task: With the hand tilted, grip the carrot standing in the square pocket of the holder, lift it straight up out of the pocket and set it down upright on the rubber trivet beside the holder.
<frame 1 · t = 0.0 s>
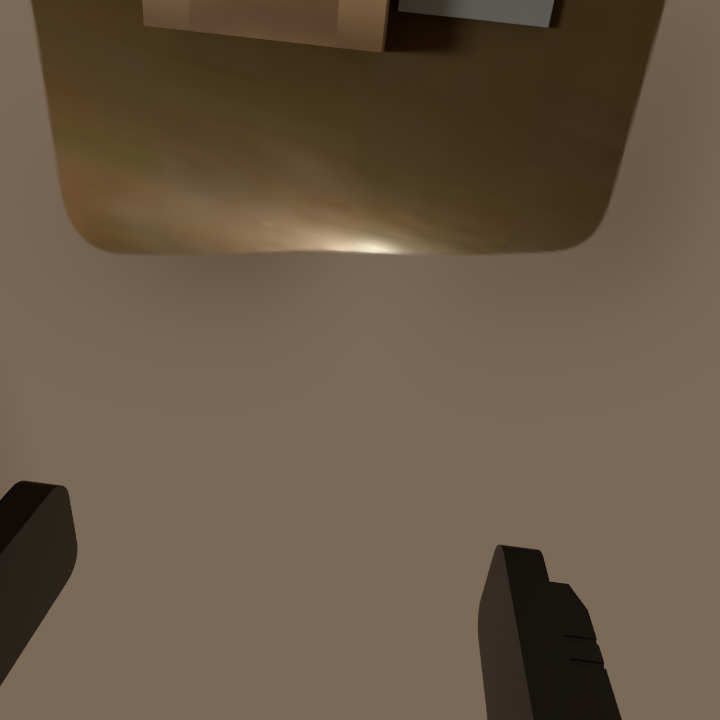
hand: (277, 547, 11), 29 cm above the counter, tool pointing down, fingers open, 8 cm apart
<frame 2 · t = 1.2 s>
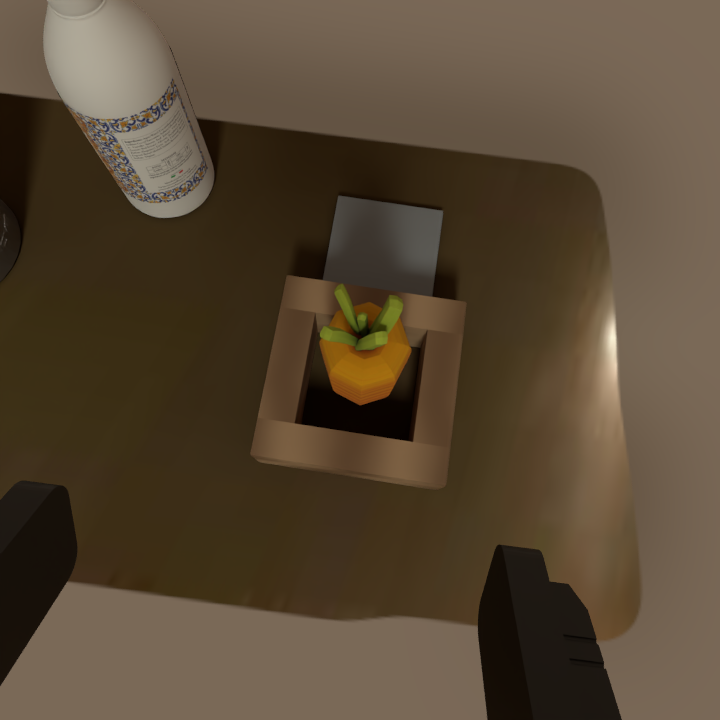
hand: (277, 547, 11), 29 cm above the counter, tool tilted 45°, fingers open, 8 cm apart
trivet: (382, 254, 44), on the counter
holder: (361, 389, 42), on the counter
bath foam: (171, 182, 46), on the counter
carrot: (361, 390, 42), on the counter
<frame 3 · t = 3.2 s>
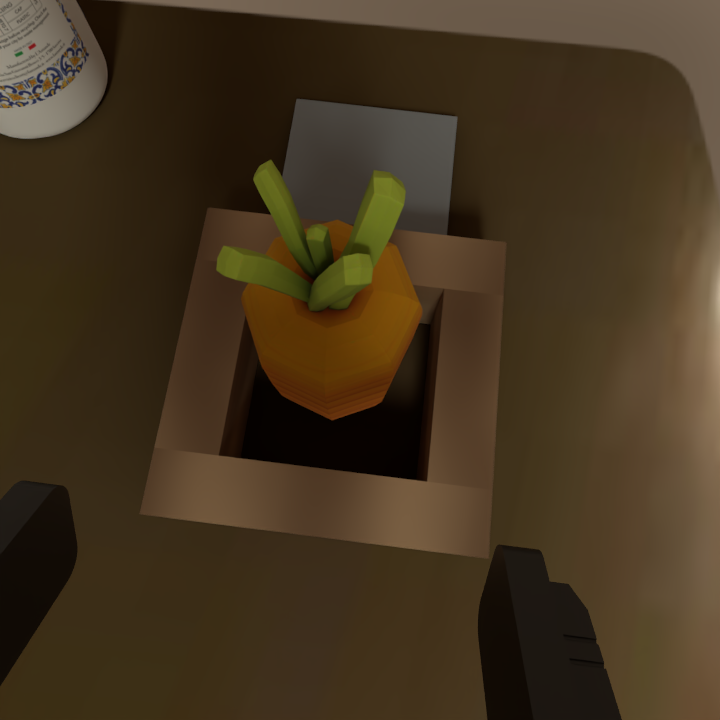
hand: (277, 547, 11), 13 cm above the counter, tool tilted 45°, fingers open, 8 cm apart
trivet: (366, 184, 29), on the counter
holder: (338, 393, 26), on the counter
bath foam: (44, 89, 30), on the counter
carrot: (338, 394, 26), on the counter
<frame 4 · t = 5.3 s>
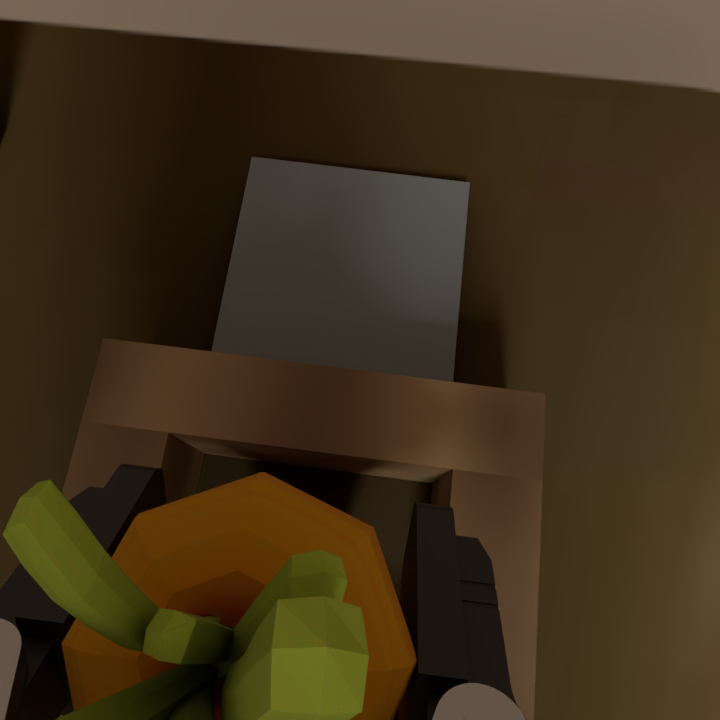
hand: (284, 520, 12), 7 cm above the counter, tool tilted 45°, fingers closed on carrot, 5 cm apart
trivet: (345, 276, 21), on the counter
holder: (300, 590, 18), on the counter
carrot: (299, 589, 18), on the counter, touching gripper
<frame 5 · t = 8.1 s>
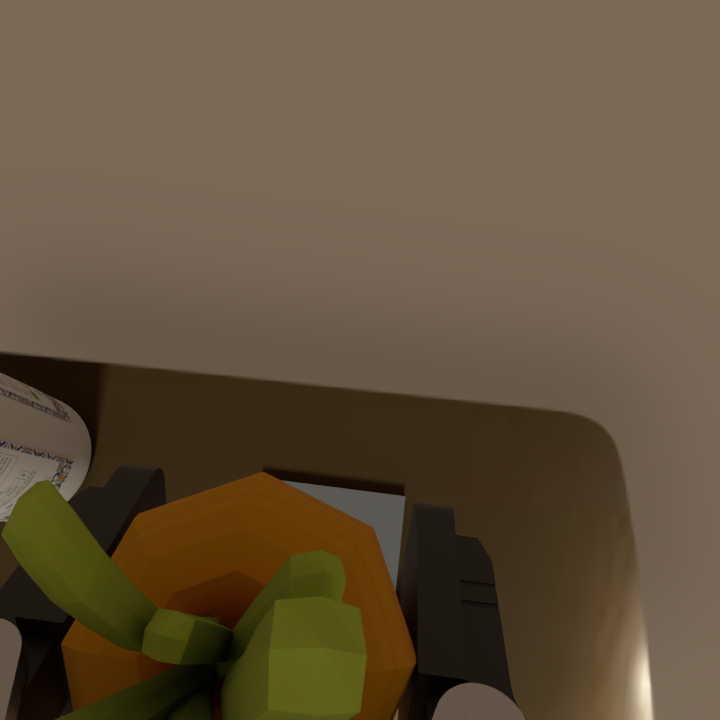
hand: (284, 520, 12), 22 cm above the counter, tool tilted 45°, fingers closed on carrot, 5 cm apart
trivet: (323, 562, 32), on the counter
bath foam: (34, 458, 34), on the counter
carrot: (300, 589, 18), point 14 cm above the counter, touching gripper
when the fingers open (8 cm above the counter, at t = 10.9 s): carrot stays where it is, resting on trivet.
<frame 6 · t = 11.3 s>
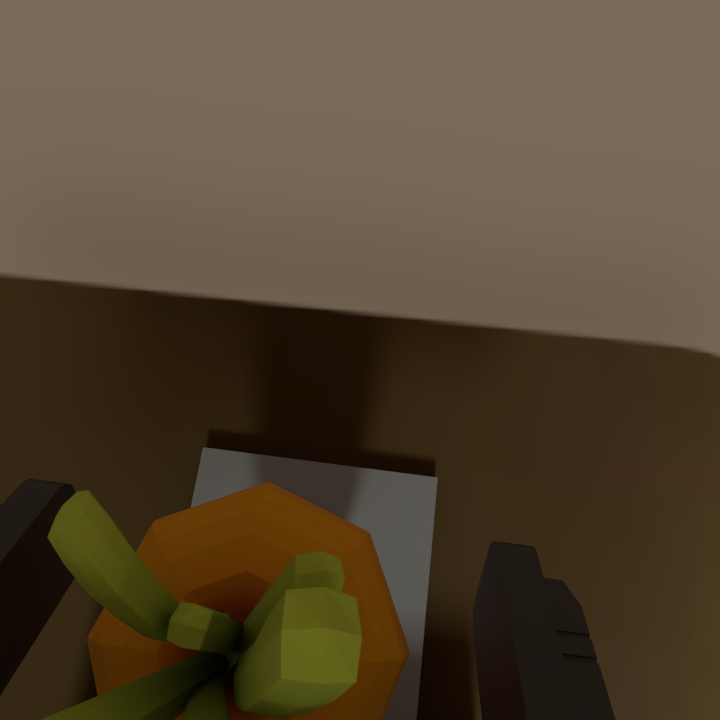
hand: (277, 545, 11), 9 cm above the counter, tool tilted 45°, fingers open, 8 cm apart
trivet: (303, 586, 20), on the counter
carrot: (300, 594, 19), resting on trivet
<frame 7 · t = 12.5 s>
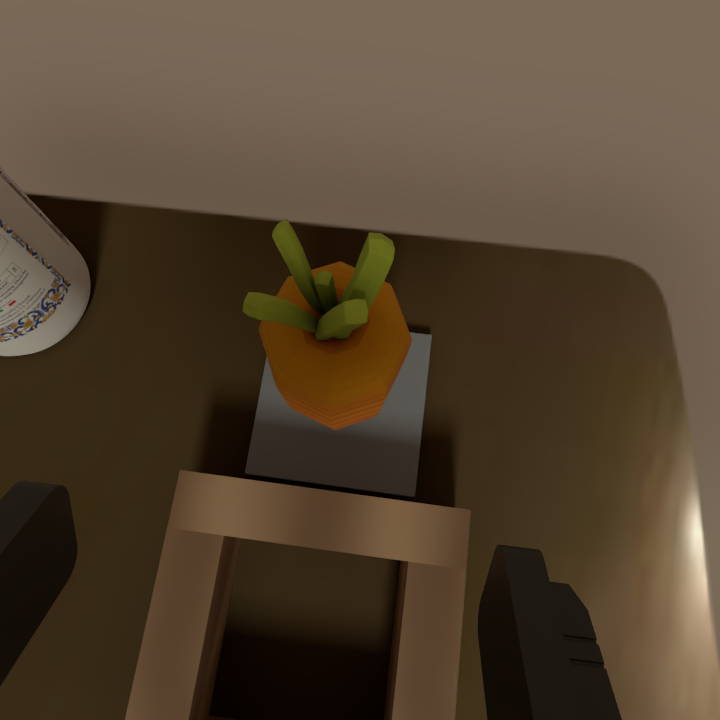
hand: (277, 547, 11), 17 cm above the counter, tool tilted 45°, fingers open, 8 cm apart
trivet: (341, 404, 29), on the counter
holder: (308, 634, 26), on the counter
bath foam: (29, 297, 31), on the counter
carrot: (340, 406, 29), resting on trivet
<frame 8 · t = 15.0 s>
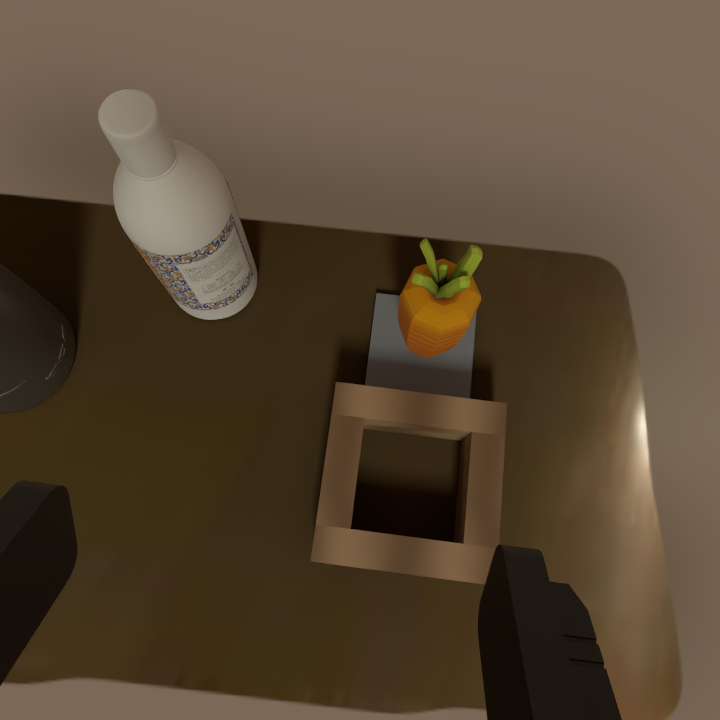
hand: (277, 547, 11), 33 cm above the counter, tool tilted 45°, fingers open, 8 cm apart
trivet: (420, 349, 47), on the counter
holder: (407, 484, 44), on the counter
bath foam: (216, 283, 48), on the counter
carrot: (421, 349, 46), resting on trivet
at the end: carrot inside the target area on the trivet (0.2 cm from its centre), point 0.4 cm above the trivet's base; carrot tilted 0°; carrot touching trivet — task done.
